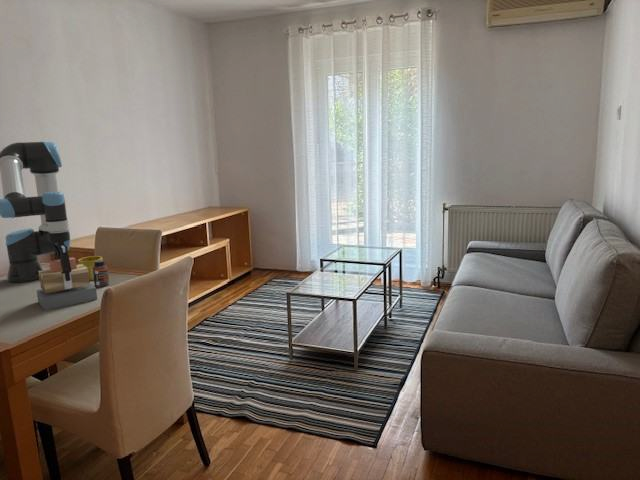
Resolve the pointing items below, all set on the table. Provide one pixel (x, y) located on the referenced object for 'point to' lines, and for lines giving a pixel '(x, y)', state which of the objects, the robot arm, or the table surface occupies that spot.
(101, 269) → the supplement bottle
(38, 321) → the table surface
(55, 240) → the robot arm
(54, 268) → the crate
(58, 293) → the block
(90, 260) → the plant pot
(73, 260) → the crate
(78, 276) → the beige block
